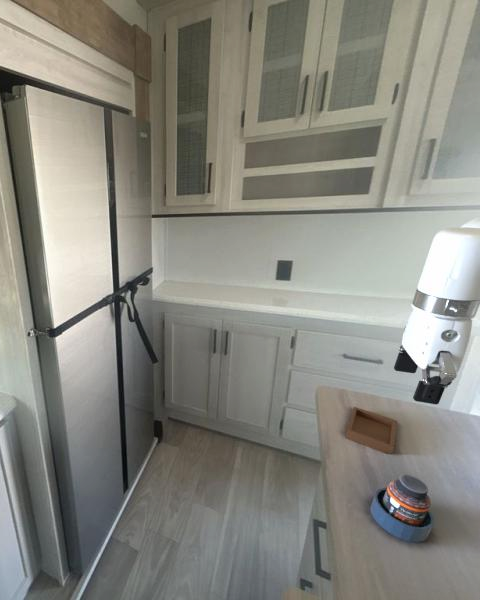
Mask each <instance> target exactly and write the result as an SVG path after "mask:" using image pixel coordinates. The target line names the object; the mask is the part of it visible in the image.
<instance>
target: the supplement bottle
mask: <svg viewBox="0 0 480 600" xmlns="http://www.w3.org/2000/svg"><path fill="white" fill-rule="evenodd" d="M386 488H387V490H386V492H385V495H384V498H383V500H382V502H381V503H380V505H381V506H382V508H383V509H384V510H385V511H386V512H387V513H388V514H390V515H391V516H392V517H394V518H395V519H397V520H399V521H401V522H403V523H405V524H408V525H411V526H414V527H422V526H423V525H422V523H423V520H424V518H425V516H426V514H427V512H428V510H429V509H430V508H431V504H432V503H431V498H430V496H429V495H428V493H429V487H428V486H427V484H426V483H425V482H423V481H422V480H421V479H419V478H417V477H416V476H413V475H410V474H401V475H399V476H398V479H393V480H391V481H390V482H389V483H388V485H387V487H386ZM429 511H430V510H429Z"/></svg>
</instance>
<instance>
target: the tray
mask: <svg viewBox="0 0 480 600" xmlns="http://www.w3.org/2000/svg"><path fill="white" fill-rule="evenodd" d="M397 428H398V420H397V419H393V418H390V417H387V416H385V415H381V414H377V413H376V412H375V413H374V412H372V411H368V410H365V409H362V408H360V407H357V406H353V409H352V412H351V416H350V419H349V422H348V426H347V430H346V433H345V436H344V438H345V439H347V440H350V441H353V442H356V443H357V444H361V445H363V446H366V447H367V448H368V447H369V448H372V449H374V450H376V451H379V452H382V453H384V454H387V455H393V452H394V449H395V445H396V435H397V430H398V429H397Z"/></svg>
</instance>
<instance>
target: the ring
mask: <svg viewBox="0 0 480 600" xmlns="http://www.w3.org/2000/svg"><path fill="white" fill-rule="evenodd" d="M386 490H387V487H382V488H379V489H378V490H376V491H375V493H374V496H373V499H372V502H371V505H370V508H369V510H370V513H371V516H372V517H373V518H374V520H375V522H376V523H377V524H378V525H379V526H380V527H381V528H382V529H383V530H385V531H386V532H388V533H389V534H390V535H392V536H394V537H396V538H398V539H400V540H403V541H406V542H408V543H416V544H418V543H423V542H425V541H426V540H427V539H428V537H429V535H430V533H431V531H432V529H433V526H434V524H435V518H434V516H433V514H432V512H431V510H428V512H427V514H426V516H425V518H424V520H423V523H422V525H421V527H414V526H411V525H408V524H405V523H403V522H401V521H399V520H397V519H395V518H394V517H392V516H391V515H390V514H388V513H387V512H386V511H385V510H384V509H383V508H382V506H381V503H382V500H383V498H384V495H385V492H386Z"/></svg>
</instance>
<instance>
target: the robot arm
mask: <svg viewBox="0 0 480 600" xmlns="http://www.w3.org/2000/svg"><path fill="white" fill-rule="evenodd" d="M410 306H411V308H412V311H411V313H410V316H409V318H408V320H407V323H406V325H405V326H404V329H403V330H404V331H403V335H402V338H401V345H400V346H399V352H398V354H397V357H396V359H395V363H394V366H393V370H395V372H400V373H409V374H416V372H417V370H418V367H419V368H420V369H421V371H422V373H421V375H422V380H418V383H417V386H416V388H415V391H414V394H413V396H412V399H413V400H414V401H415V402H419V403H425V404H429V405H439V404H440V402H441V399H442V397H443V394H444V391H445V389H447V388H448V387H449V386H451V384H452V383H453V381H454V380H455V379H456V378H457V376H458V375H457V374H458V372H459V371H460V369H461V367H462V363H463V361H464V358H465V355H466V352H467V349H468V345H469V344H470V343H469V342H470V339H471V332H472V328H473V320H472V319H474V318H475V317H476V316H477V312H478V310H479V307H480V216H478V217H475V218H472V219H471V220H468V221H466V222H465V223H463V224H462V225H460V226H459V227H450V228H444V229H442V230H439V231H438V232H437V233H435V235H434V236H433V239H432V241H431V244H430V248H429V251H428V254H427V255H426V259H425V263H424V266H423V269H422V271H421V275H420V278H419V280H418V284H417V286H416V290H415V293H414V296H413V300H412V302H411V305H410ZM432 365H437V366H432ZM431 372H435V373H438V375H434V376H431Z"/></svg>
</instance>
